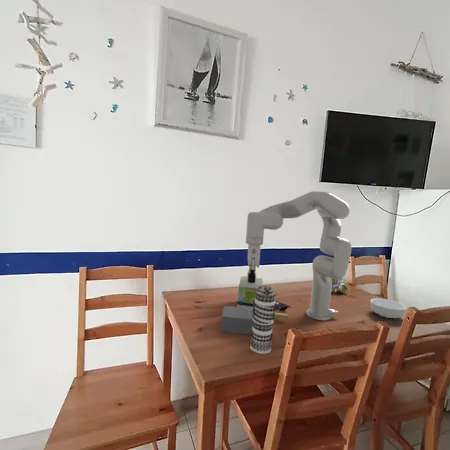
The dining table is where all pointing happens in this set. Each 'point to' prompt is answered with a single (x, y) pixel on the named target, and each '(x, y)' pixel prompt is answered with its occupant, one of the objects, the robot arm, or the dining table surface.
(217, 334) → the dining table surface
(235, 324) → the case
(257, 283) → the lid
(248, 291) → the tea box
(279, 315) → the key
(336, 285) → the passion flower
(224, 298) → the dining table surface
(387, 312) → the cereal bowl
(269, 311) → the decorative candle
